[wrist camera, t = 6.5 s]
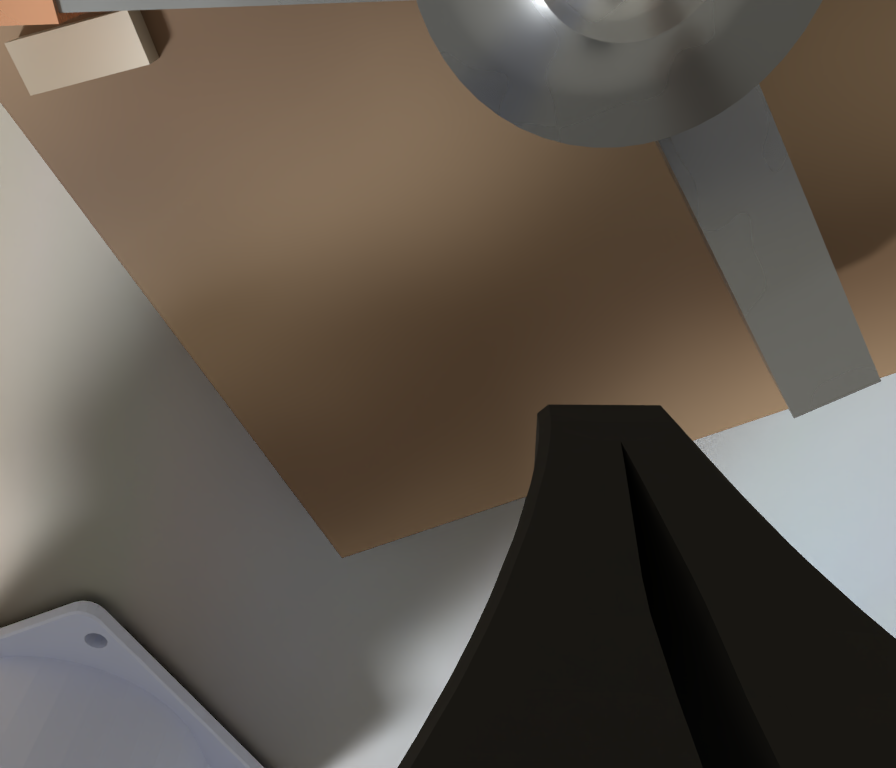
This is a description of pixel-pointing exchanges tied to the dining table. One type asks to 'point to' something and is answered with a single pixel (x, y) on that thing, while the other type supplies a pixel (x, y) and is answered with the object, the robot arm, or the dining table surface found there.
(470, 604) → the dining table surface
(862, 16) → the base board
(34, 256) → the dining table surface
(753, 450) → the dining table surface
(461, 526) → the dining table surface
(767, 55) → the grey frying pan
